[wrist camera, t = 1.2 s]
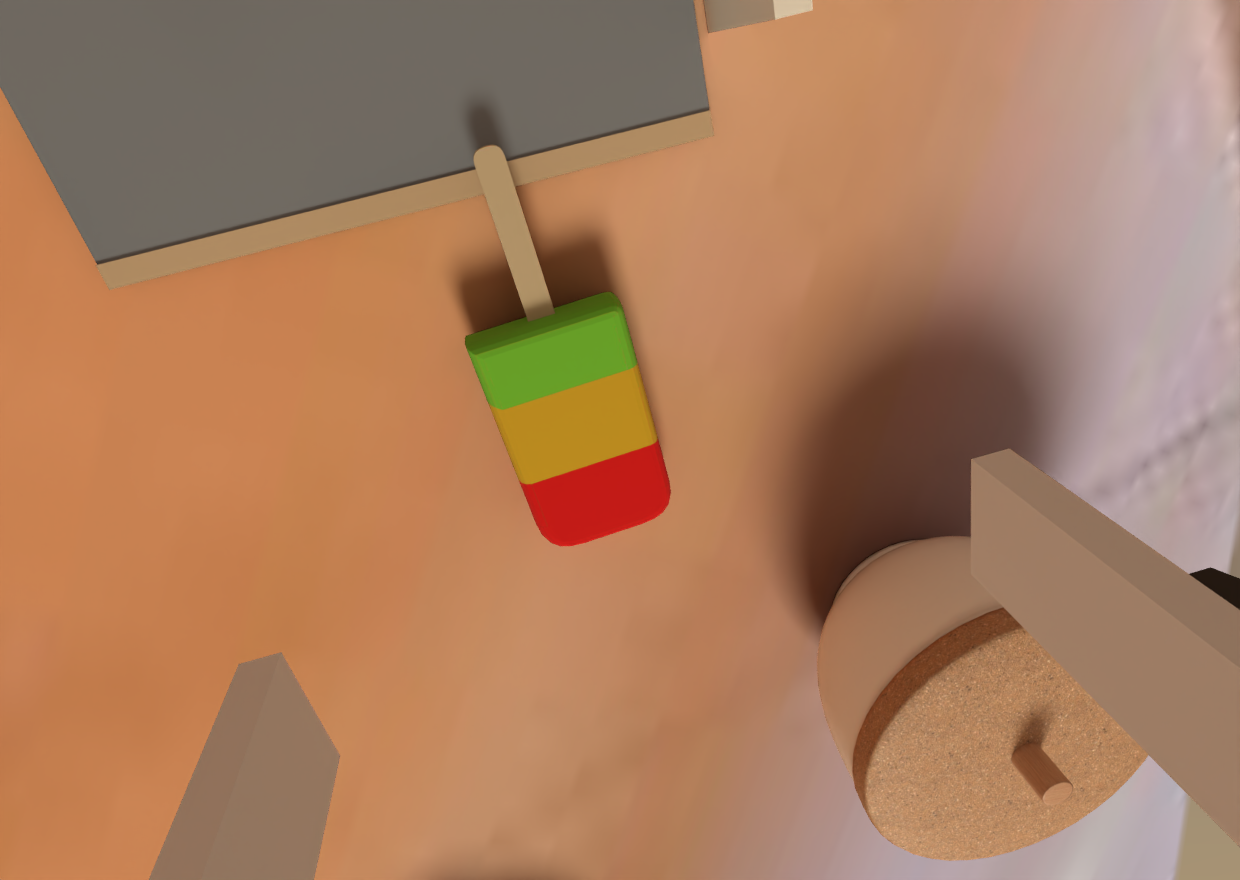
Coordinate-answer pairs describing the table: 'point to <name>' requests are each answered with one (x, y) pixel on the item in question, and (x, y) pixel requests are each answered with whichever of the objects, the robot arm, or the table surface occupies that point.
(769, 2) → the word card
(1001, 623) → the lidded bowl
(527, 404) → the popsicle
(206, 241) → the slate board
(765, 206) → the table surface
